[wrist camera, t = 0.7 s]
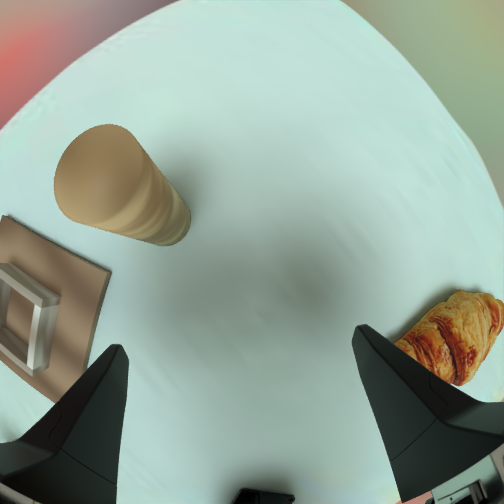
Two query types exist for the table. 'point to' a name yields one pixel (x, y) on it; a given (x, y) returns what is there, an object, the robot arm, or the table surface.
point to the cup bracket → (46, 309)
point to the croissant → (455, 335)
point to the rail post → (118, 188)
